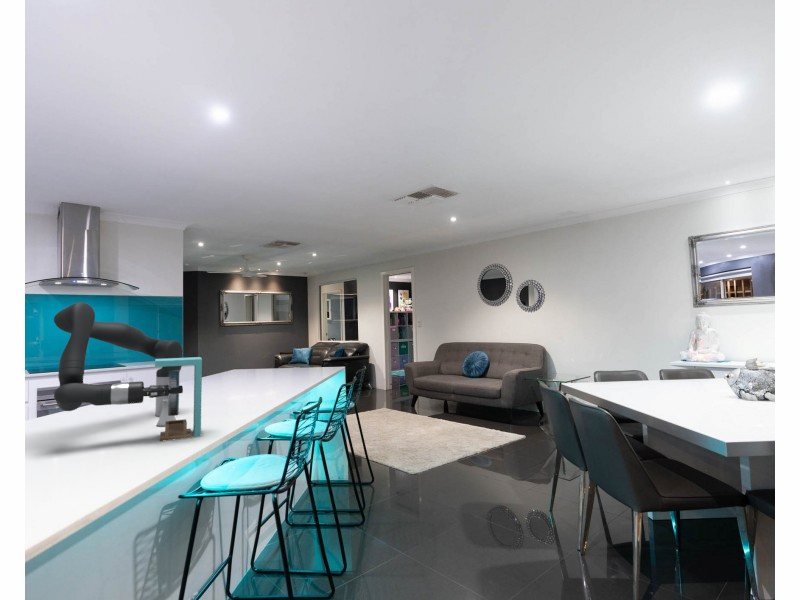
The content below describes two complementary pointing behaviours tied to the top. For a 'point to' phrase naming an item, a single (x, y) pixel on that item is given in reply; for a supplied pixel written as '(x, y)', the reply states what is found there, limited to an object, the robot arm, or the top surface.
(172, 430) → the socket
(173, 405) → the peg
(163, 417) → the flask
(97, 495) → the top surface
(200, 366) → the teal angle bracket
